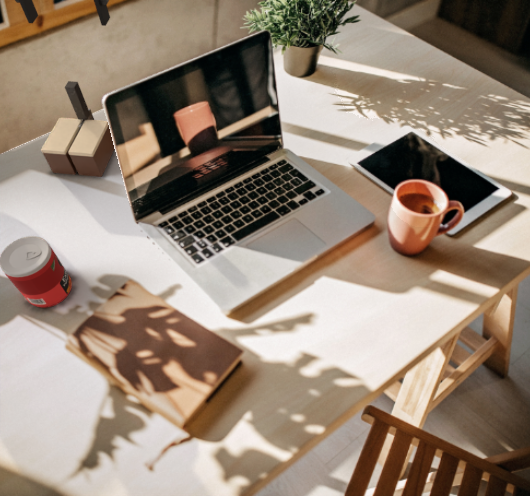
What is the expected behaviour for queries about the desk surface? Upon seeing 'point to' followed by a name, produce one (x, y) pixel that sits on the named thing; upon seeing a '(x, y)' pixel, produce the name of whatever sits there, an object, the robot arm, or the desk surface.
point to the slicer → (78, 102)
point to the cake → (79, 147)
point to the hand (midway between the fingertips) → (69, 20)
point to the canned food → (36, 271)
